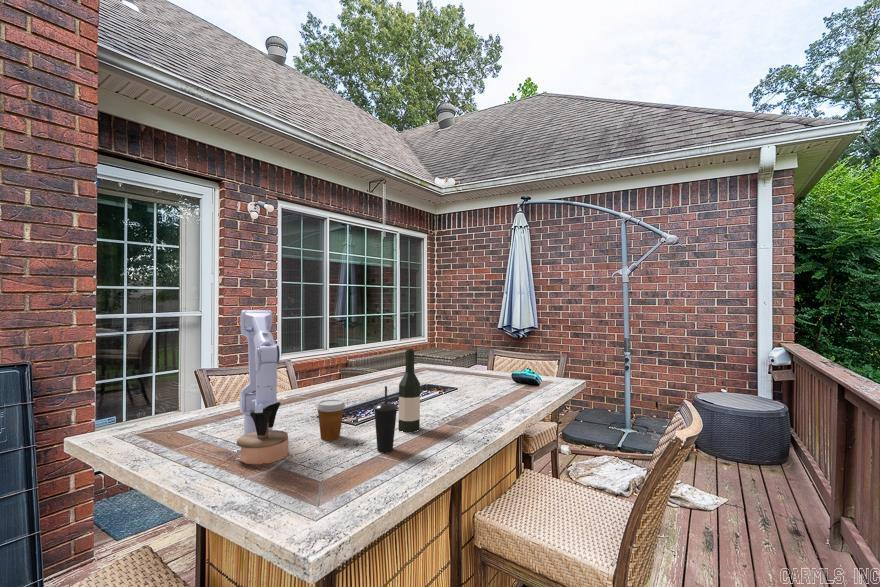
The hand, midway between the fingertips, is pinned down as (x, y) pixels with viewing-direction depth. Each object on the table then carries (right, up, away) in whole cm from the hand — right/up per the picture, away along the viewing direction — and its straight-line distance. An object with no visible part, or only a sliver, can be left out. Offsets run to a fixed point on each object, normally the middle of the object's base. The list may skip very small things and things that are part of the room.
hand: (265, 431), depth 119 cm
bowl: (0, -8, 0) cm, 8 cm away
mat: (-15, -7, -2) cm, 17 cm away
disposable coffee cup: (+15, -9, +18) cm, 25 cm away
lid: (-1, -3, 0) cm, 3 cm away
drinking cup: (+35, -8, +6) cm, 37 cm away
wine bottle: (+41, -9, +27) cm, 50 cm away
